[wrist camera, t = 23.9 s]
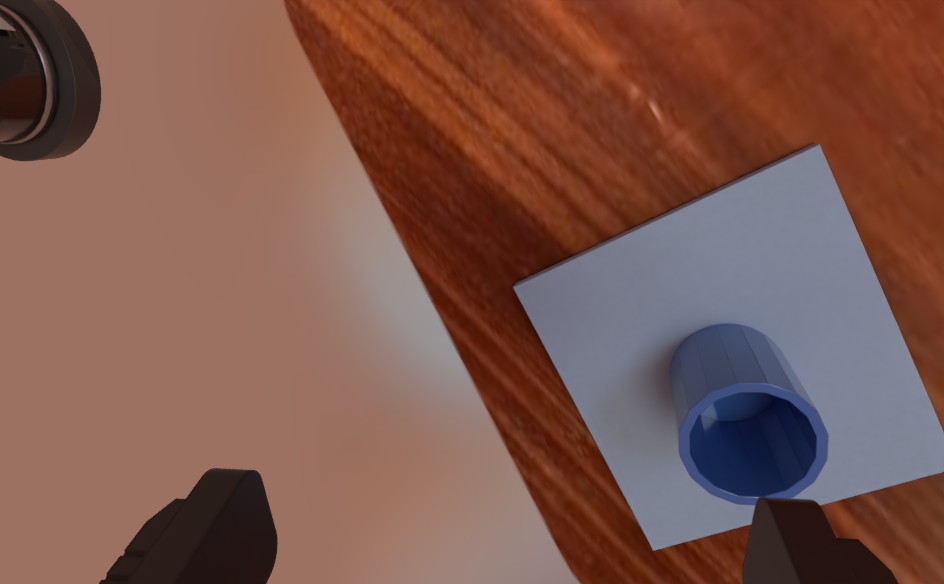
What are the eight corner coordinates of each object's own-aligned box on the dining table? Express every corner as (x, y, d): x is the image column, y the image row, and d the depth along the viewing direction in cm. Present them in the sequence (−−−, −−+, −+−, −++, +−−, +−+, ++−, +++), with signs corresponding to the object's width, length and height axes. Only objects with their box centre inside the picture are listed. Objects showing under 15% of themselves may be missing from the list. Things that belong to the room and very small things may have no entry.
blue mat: (652, 541, 41) (653, 551, 40) (515, 283, 38) (512, 287, 38) (950, 458, 35) (959, 468, 34) (814, 143, 32) (819, 144, 31)
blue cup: (696, 437, 37) (712, 520, 30) (651, 348, 37) (656, 411, 29) (804, 402, 35) (851, 482, 28) (759, 305, 34) (795, 362, 27)
